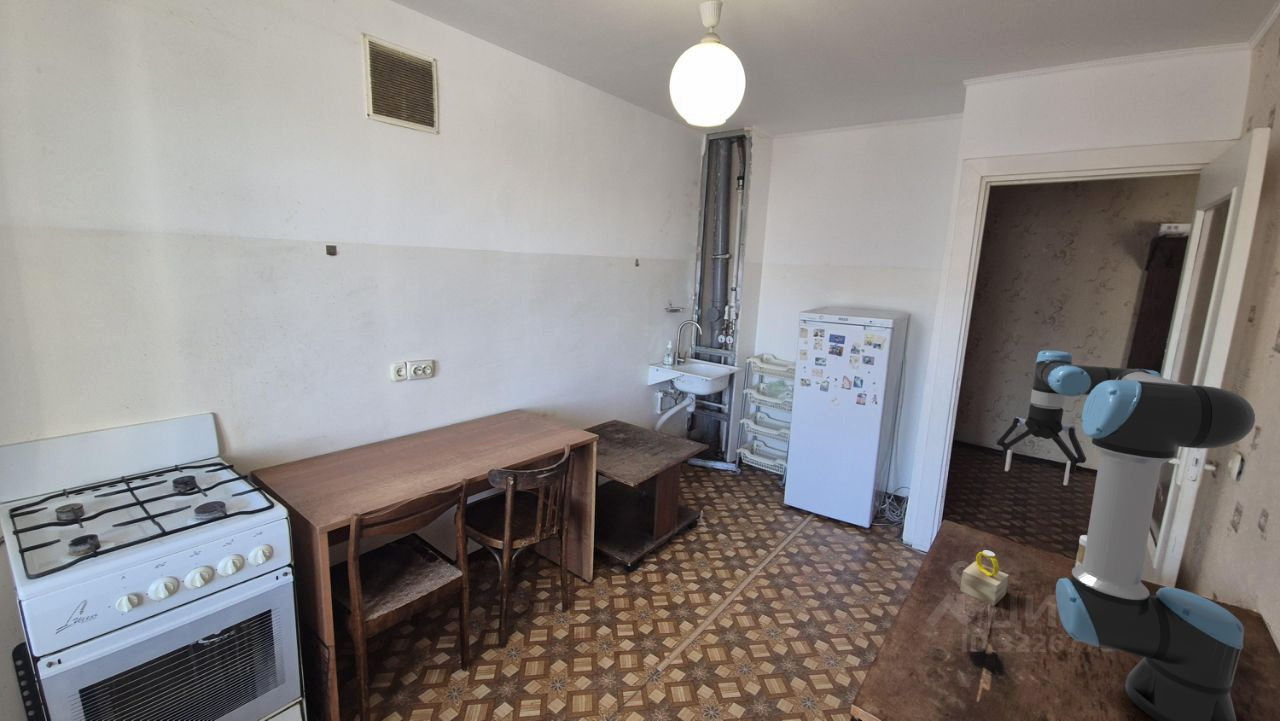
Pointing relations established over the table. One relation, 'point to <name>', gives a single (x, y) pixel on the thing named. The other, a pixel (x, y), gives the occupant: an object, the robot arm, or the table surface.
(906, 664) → the table surface
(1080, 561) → the sprinkles bottle
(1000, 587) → the maple block
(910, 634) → the table surface
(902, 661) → the table surface
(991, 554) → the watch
